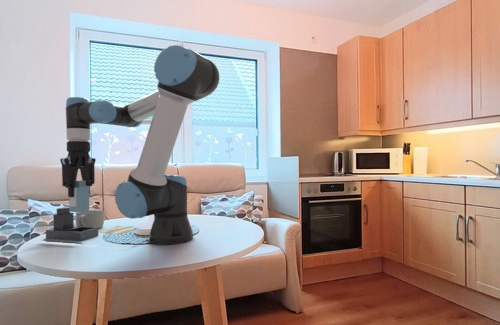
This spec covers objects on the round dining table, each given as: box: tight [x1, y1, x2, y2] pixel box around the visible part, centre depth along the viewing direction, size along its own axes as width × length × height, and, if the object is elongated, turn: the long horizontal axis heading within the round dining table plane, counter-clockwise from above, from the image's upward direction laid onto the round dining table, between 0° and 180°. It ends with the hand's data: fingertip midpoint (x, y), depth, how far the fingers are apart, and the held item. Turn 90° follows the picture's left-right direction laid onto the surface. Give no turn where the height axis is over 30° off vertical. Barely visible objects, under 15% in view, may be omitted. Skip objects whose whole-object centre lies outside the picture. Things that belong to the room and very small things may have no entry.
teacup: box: [75, 209, 106, 230], centre depth 128 cm, size 14×11×8 cm
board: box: [98, 225, 135, 235], centre depth 124 cm, size 12×12×1 cm
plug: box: [68, 179, 90, 213], centre depth 113 cm, size 4×4×11 cm
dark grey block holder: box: [45, 206, 99, 245], centre depth 114 cm, size 16×8×12 cm, turn 72°
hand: (79, 204), depth 113 cm, fingers closed on plug, 4 cm apart
